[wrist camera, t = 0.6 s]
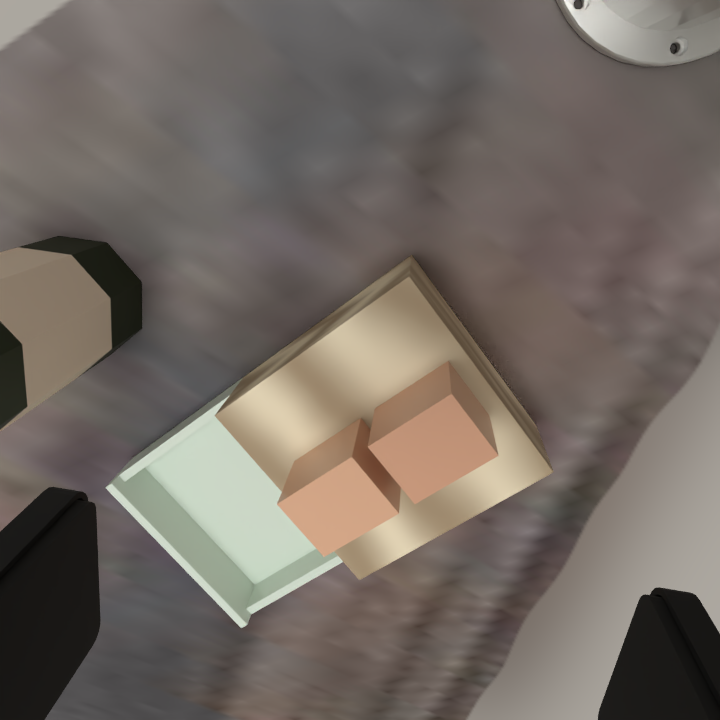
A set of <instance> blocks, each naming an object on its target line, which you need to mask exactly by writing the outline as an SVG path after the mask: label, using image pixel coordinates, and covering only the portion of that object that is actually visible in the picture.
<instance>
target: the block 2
mask: <svg viewBox="0 0 720 720" xmlns="http://www.w3.org/2000/svg"><path fill="white" fill-rule="evenodd" d="M368 448H369V449H370V450H371V452H372V453H373V454H374V455H375V456H376V458H377V459H378V460H379V461H380V463H381V464H382V465H383V466H384V467H385V469H386V470H387V471H388V472H389V473H390V475H391V476H392V477H393V478H394V480H395V481H396V482H397V483H398V484H399V486H400V487H401V488H402V489H403V491H404V492H405V493H406V494H407V495H408V497H409V498H410V499H411V500H412V502H413V503H414V504H416V503H418V502H420V501H422V500H423V499H425V498H427V497H428V496H430V495H432V494H434V493H435V492H437V491H439V490H440V489H442V488H444V487H446V486H447V485H449V484H451V483H453V482H454V481H456V480H458V479H459V478H461V477H463V476H465V475H466V474H468V473H470V472H471V471H473V470H475V469H477V468H478V467H480V466H482V465H483V464H485V463H487V462H489V461H490V460H492V459H494V458H496V457H497V456H499V455H498V450H497V446H496V442H495V437H494V433H493V428H492V424H491V420H490V416H489V414H488V413H487V412H486V410H485V409H484V408H483V406H482V405H481V404H480V402H479V401H478V400H477V398H476V397H475V396H474V394H473V393H472V392H471V390H470V389H469V387H468V386H467V385H466V383H465V382H464V381H463V379H462V378H461V377H460V375H459V374H458V373H457V371H456V370H455V369H454V367H453V366H452V365H451V363H450V362H449V361H447V362H445V363H444V364H442V365H441V366H439V367H438V368H436V369H435V370H433V371H432V372H430V373H429V374H427V375H426V376H424V377H422V378H421V379H419V380H418V381H416V382H415V383H413V384H412V385H410V386H409V387H407V388H406V389H404V390H403V391H401V392H399V393H398V394H396V395H395V396H393V397H392V398H390V399H389V400H387V401H386V402H384V403H383V404H381V405H379V406H378V407H376V408H375V410H374V415H373V421H372V426H371V431H370V437H369V442H368Z"/></svg>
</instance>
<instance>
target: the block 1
mask: <svg viewBox="0 0 720 720" xmlns="http://www.w3.org/2000/svg"><path fill="white" fill-rule="evenodd" d="M370 431H371V430H370V428H369V427H368V426H367V425H366V424H365V422H364V421H363V420H362V419H361V418H360V419H358V420H356V421H355V422H353V423H352V424H350V425H349V426H347V427H346V428H344V429H343V430H341V431H340V432H338V433H337V434H335V435H333V436H332V437H330V438H329V439H327V440H326V441H324V442H323V443H321V444H320V445H318V446H317V447H315V448H314V449H312V450H310V451H309V452H307V453H306V454H304V455H303V456H301V457H300V458H298V459H297V460H295V461H294V463H293V465H292V468H291V470H290V473H289V475H288V478H287V480H286V483H285V485H284V488H283V490H282V493H281V495H280V497H279V500H278V502H277V505H278V506H279V507H280V508H281V509H282V511H283V512H284V513H285V514H286V515H287V516H288V517H289V518H290V520H291V521H292V522H293V523H294V524H295V525H296V526H297V527H298V529H299V530H300V531H301V532H302V533H303V534H304V535H305V536H306V538H307V539H308V540H309V541H310V542H311V543H312V544H313V545H314V547H315V548H316V549H317V550H318V551H319V552H320V553H321V554H322V556H323V557H325V556H327V555H329V554H330V553H332V552H334V551H335V550H337V549H339V548H341V547H342V546H344V545H346V544H348V543H349V542H351V541H353V540H354V539H356V538H358V537H360V536H361V535H363V534H365V533H366V532H368V531H370V530H372V529H373V528H375V527H377V526H378V525H380V524H382V523H384V522H385V521H387V520H389V519H391V518H392V517H394V516H396V515H397V514H399V507H400V493H401V487H400V486H399V484H398V483H397V482H396V481H395V480H394V478H393V477H392V476H391V475H390V473H389V472H388V471H387V470H386V469H385V467H384V466H383V465H382V464H381V463H380V461H379V460H378V459H377V458H376V456H375V455H374V454H373V453H372V452H371V450H370V449H369V448H368V442H369V437H370Z"/></svg>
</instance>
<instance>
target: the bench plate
mask: <svg viewBox="0 0 720 720" xmlns="http://www.w3.org/2000/svg"><path fill="white" fill-rule="evenodd" d="M447 361H449V362H450V363H451V365H452V366H453V367H454V369H455V370H456V371H457V373H458V374H459V375H460V377H461V378H462V379H463V381H464V382H465V383H466V385H467V386H468V387H469V389H470V390H471V392H472V393H473V394H474V396H475V397H476V398H477V400H478V401H479V402H480V404H481V405H482V406H483V408H484V409H485V410H486V412H487V413H488V414H489V416H490V420H491V424H492V428H493V433H494V437H495V442H496V446H497V450H498V455H499V456H497V457H496V458H494V459H492V460H490V461H489V462H487V463H485V464H483V465H482V466H480V467H478V468H477V469H475V470H473V471H471V472H470V473H468V474H466V475H465V476H463V477H461V478H459V479H458V480H456V481H454V482H453V483H451V484H449V485H447V486H446V487H444V488H442V489H440V490H439V491H437V492H435V493H434V494H432V495H430V496H428V497H427V498H425V499H423V500H422V501H420V502H418V503H416V504H414V503H413V502H412V500H411V499H410V498H409V497H408V495H407V494H406V493H405V492H404V491H403V489H402V488H401V493H400V507H399V514H397V515H396V516H394V517H392V518H391V519H389V520H387V521H385V522H384V523H382V524H380V525H378V526H377V527H375V528H373V529H372V530H370V531H368V532H366V533H365V534H363V535H361V536H360V537H358V538H356V539H354V540H353V541H351V542H349V543H348V544H346V545H344V546H342V547H341V548H339V549H337V550H335V551H334V552H335V553H336V554H337V555H338V556H339V557H340V559H341V560H342V561H343V562H344V563H345V564H346V565H347V566H348V568H349V569H350V570H351V571H352V572H353V573H354V574H355V576H356V577H357V578H358V579H359V580H360V579H362V578H364V577H366V576H368V575H369V574H371V573H373V572H375V571H377V570H378V569H380V568H382V567H384V566H386V565H387V564H389V563H391V562H393V561H395V560H396V559H398V558H400V557H402V556H404V555H405V554H407V553H409V552H411V551H413V550H414V549H416V548H418V547H420V546H422V545H423V544H425V543H427V542H429V541H431V540H432V539H434V538H436V537H438V536H440V535H441V534H443V533H445V532H447V531H449V530H450V529H452V528H454V527H456V526H458V525H459V524H461V523H463V522H465V521H467V520H468V519H470V518H472V517H474V516H476V515H477V514H479V513H481V512H483V511H485V510H486V509H488V508H490V507H492V506H494V505H495V504H497V503H499V502H501V501H503V500H504V499H506V498H508V497H510V496H512V495H513V494H515V493H517V492H519V491H521V490H522V489H524V488H526V487H528V486H530V485H531V484H533V483H535V482H537V481H539V480H540V479H542V478H544V477H546V476H548V475H549V474H551V473H553V469H552V466H551V464H550V461H549V458H548V456H547V453H546V451H545V448H544V445H543V443H542V440H541V437H540V435H539V432H538V429H537V427H536V425H535V423H534V422H533V420H532V419H531V418H530V416H529V415H528V414H527V412H526V411H525V410H524V408H523V407H522V405H521V404H520V403H519V401H518V400H517V399H516V397H515V396H514V394H513V393H512V392H511V390H510V389H509V388H508V386H507V385H506V383H505V382H504V381H503V379H502V378H501V377H500V375H499V374H498V373H497V371H496V370H495V368H494V367H493V366H492V364H491V363H490V362H489V360H488V359H487V357H486V356H485V355H484V353H483V352H482V351H481V349H480V348H479V347H478V345H477V344H476V342H475V341H474V340H473V338H472V337H471V336H470V334H469V333H468V331H467V330H466V329H465V327H464V326H463V325H462V323H461V322H460V320H459V319H458V318H457V316H456V315H455V314H454V312H453V311H452V310H451V308H450V307H449V305H448V304H447V303H446V301H445V300H444V299H443V297H442V296H441V294H440V293H439V292H438V290H437V289H436V288H435V286H434V285H433V284H432V282H431V281H430V279H429V278H428V277H427V275H426V274H425V273H424V271H423V270H422V268H421V267H420V266H419V264H418V263H417V262H416V260H415V259H414V257H413V256H412V255H411V256H410V257H408V258H407V259H405V260H404V261H403V262H401V263H400V264H399V265H397V266H396V267H394V268H393V269H392V270H390V271H389V272H388V273H386V274H385V275H383V276H382V277H381V278H379V279H378V280H377V281H375V282H374V283H372V284H371V285H370V286H368V287H367V288H366V289H364V290H363V291H361V292H360V293H359V294H357V295H356V296H355V297H353V298H352V299H350V300H349V301H348V302H346V303H345V304H344V305H342V306H341V307H339V308H338V309H337V310H335V311H334V312H333V313H331V314H330V315H328V316H327V317H326V318H324V319H323V320H321V321H320V322H319V323H317V324H316V325H315V326H313V327H312V328H310V329H309V330H308V331H306V332H305V333H304V334H302V335H301V336H299V337H298V338H297V339H295V340H294V341H293V342H291V343H290V344H288V345H287V346H286V347H284V348H283V349H282V350H280V351H279V352H277V353H276V354H275V355H273V356H272V357H271V358H269V359H268V360H266V361H265V362H264V363H262V364H261V365H260V366H258V367H257V368H255V369H254V370H253V371H251V372H250V373H249V374H247V375H246V376H244V377H243V378H242V380H241V381H240V382H239V384H238V385H237V386H236V388H235V389H234V390H233V392H232V393H231V394H230V396H229V397H228V398H227V400H226V401H225V402H224V404H223V405H222V406H221V408H220V409H219V410H218V412H217V413H216V414H215V417H216V418H217V419H218V420H219V421H220V422H221V424H222V425H223V426H224V427H225V428H226V429H227V430H228V432H229V433H230V434H231V435H232V436H233V437H234V438H235V439H236V441H237V442H238V443H239V444H240V445H241V446H242V447H243V449H244V450H245V451H246V452H247V453H248V454H249V455H250V457H251V458H252V459H253V460H254V461H255V462H256V463H257V464H258V466H259V467H260V468H261V469H262V470H263V471H264V472H265V474H266V475H267V476H268V477H269V478H270V479H271V480H272V481H273V483H274V484H275V485H276V486H277V487H278V488H279V489H280V491H281V492H282V490H283V488H284V485H285V483H286V480H287V478H288V475H289V473H290V470H291V468H292V465H293V463H294V461H295V460H297V459H298V458H300V457H301V456H303V455H304V454H306V453H307V452H309V451H310V450H312V449H314V448H315V447H317V446H318V445H320V444H321V443H323V442H324V441H326V440H327V439H329V438H330V437H332V436H333V435H335V434H337V433H338V432H340V431H341V430H343V429H344V428H346V427H347V426H349V425H350V424H352V423H353V422H355V421H356V420H358V419H360V418H361V419H362V420H363V421H364V422H365V424H366V425H367V426H368V427H369V428H370V430H371V426H372V421H373V415H374V410H375V408H376V407H378V406H379V405H381V404H383V403H384V402H386V401H387V400H389V399H390V398H392V397H393V396H395V395H396V394H398V393H399V392H401V391H403V390H404V389H406V388H407V387H409V386H410V385H412V384H413V383H415V382H416V381H418V380H419V379H421V378H422V377H424V376H426V375H427V374H429V373H430V372H432V371H433V370H435V369H436V368H438V367H439V366H441V365H442V364H444V363H445V362H447Z"/></svg>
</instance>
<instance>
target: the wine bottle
mask: <svg viewBox="0 0 720 720" xmlns="http://www.w3.org/2000/svg"><path fill="white" fill-rule="evenodd" d="M141 329H142V282H141V281H140V280H139V279H138V278H137V276H136V275H135V274H134V273H133V272H132V271H131V270H130V268H129V267H128V266H127V265H126V264H125V263H124V262H123V260H122V259H121V258H120V257H119V256H118V255H117V254H116V253H115V251H114V250H113V249H112V248H111V247H110V246H109V245H108V243H105V242H98V241H91V240H84V239H77V238H70V237H63V236H57V237H54V238H50V239H46V240H43V241H39V242H35V243H32V244H28V245H25V246H21V247H17V248H14V249H10V250H7V251H3V252H0V431H2V430H3V429H5V428H6V427H8V426H9V425H11V424H12V423H13V422H15V421H16V420H18V419H19V418H21V417H22V416H23V415H25V414H26V413H28V412H29V411H31V410H32V409H33V408H35V407H36V406H38V405H39V404H41V403H42V402H43V401H45V400H46V399H48V398H49V397H51V396H52V395H53V394H55V393H56V392H58V391H59V390H61V389H62V388H63V387H65V386H66V385H68V384H69V383H71V382H72V381H74V380H75V379H76V378H78V377H79V376H81V375H82V374H84V373H85V372H86V371H88V370H89V369H91V368H92V367H94V366H95V365H96V364H98V363H99V362H101V361H102V360H104V359H105V358H106V357H108V356H109V355H111V354H112V353H113V352H114V351H115V350H117V349H118V348H119V347H120V346H121V345H123V344H124V343H125V342H126V341H127V340H129V339H130V338H131V337H132V336H133V335H135V334H136V333H137V332H138V331H139V330H141Z"/></svg>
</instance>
